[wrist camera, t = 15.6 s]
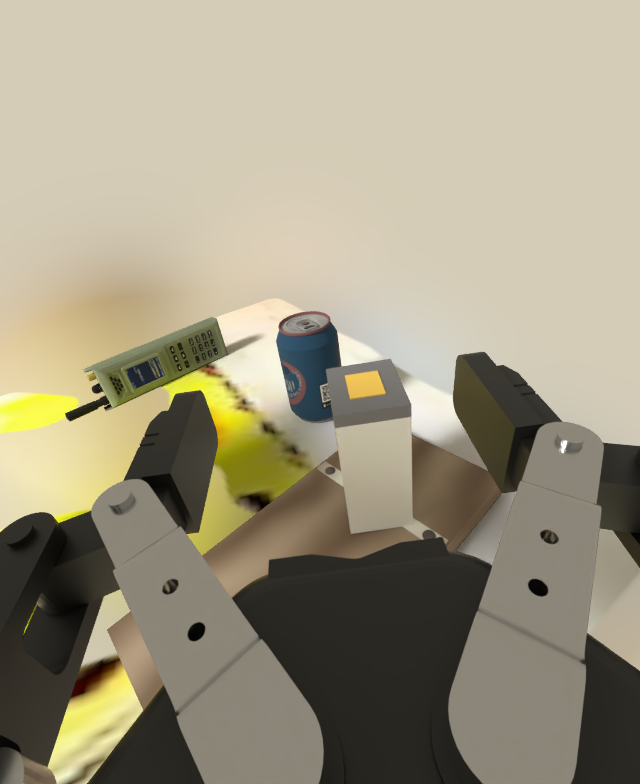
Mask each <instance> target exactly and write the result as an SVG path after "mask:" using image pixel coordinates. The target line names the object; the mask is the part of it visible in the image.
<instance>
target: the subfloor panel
mask: <svg viewBox="0 0 640 784" xmlns="http://www.w3.org/2000/svg"><path fill="white" fill-rule="evenodd" d="M500 495H501V492H500V490H499V488H498V486H497V485H496V483H495V481H494V479H493V478H492V476H491V474H490V472H489V471H487V470H485V469H482V468H480V467H478V466H476V465H474V464H472V463H470V462H468V461H466V460H464V459H462V458H459V457H457V456H455V455H453V454H451V453H449V452H447V451H445V450H443V449H441V448H439V447H436V446H434V445H432V444H430V443H428V442H426V441H424V440H422V439H420V438H418V437H415V436H413V435H412V509H413V525H410V526H403V527H396V528H389V529H382V530H375V531H368V532H361V533H354V534H351V531H350V525H349V518H348V512H347V505H346V499H345V492H344V486H343V479H342V473H341V466H340V460H339V453H338V451H337V452H335V453H334V454H333V455H332V456H330V457H329V458H328V459H326V460H325V461H324V462H322V463H321V464H320V465H319V466H317V467H316V468H315V469H313V470H312V471H311V472H310V473H308V474H307V475H306V476H304V477H303V478H302V479H301V480H299V481H298V482H297V483H295V484H294V485H293V486H292V487H290V488H289V489H288V490H286V491H285V492H284V493H283V494H281V495H280V496H279V497H277V498H276V499H275V500H274V501H272V502H271V503H270V504H268V505H267V506H266V507H265V508H263V509H262V510H261V511H259V512H258V513H257V514H256V515H254V516H253V517H252V518H250V519H249V520H248V521H246V522H245V523H244V524H243V525H241V526H240V527H239V528H237V529H236V530H235V531H234V532H232V533H231V534H230V535H228V536H227V537H226V538H225V539H223V540H222V541H221V542H219V543H218V544H217V545H216V546H214V547H213V548H212V549H210V550H209V551H208V552H207V553H206V554H204V555H203V556H202V557H203V558H204V560H205V561H206V563H207V564H208V566H209V567H210V568H211V570H212V571H213V573H214V574H215V575H216V577H217V578H218V580H219V581H220V583H221V584H222V585H223V587H224V588H225V590H226V591H227V592H228V594H229V595H230V597H231V598H232V597H233V596H234V595H235V594H236V593H238V592H239V591H240V590H241V589H242V588H244V587H245V586H247V585H248V584H250V583H251V582H253V581H254V580H256V579H258V578H260V577H262V576H264V575H267V574H268V568H269V560H271V559H278V558H286V557H293V556H301V555H308V554H315V555H324V556H333V557H342V558H351V559H357V558H361V557H364V556H367V555H369V554H372V553H374V552H377V551H379V550H382V549H384V548H387V547H389V546H392V545H395V544H397V543H400V542H407V541H415V540H422V539H430V538H438V537H443V539H444V542H445V545H446V548H447V550H448V551H456V549H457V548H458V547H459V546H460V545H461V543H462V542H463V541H464V540H465V538H466V537H467V536H468V535H469V533H470V532H471V531H472V530H473V528H474V527H475V526H476V525H477V524H478V522H479V521H480V520H481V519H482V517H483V516H484V515H485V514H486V512H487V511H488V510H489V509H490V508H491V506H492V505H493V504H494V503H495V501H496V500H497V499H498V498H499V496H500ZM107 631H108V633H109V635H110V637H111V640H112V642H113V644H114V646H115V648H116V651H117V653H118V655H119V657H120V659H121V662H122V664H123V666H124V668H125V671H126V673H127V675H128V677H129V679H130V682H131V684H132V686H133V688H134V690H135V693H136V695H137V697H138V699H139V701H140V704H141V706H142V708H143V710H144V709H145V708H146V707H147V705H148V704H149V703H150V701H151V700H152V699H153V698H154V696H155V695H156V694H157V692H158V691H159V690H160V689H161V687H162V686H163V685H164V684H163V682H162V679H161V677H160V675H159V673H158V671H157V668H156V666H155V664H154V662H153V660H152V657H151V655H150V653H149V651H148V649H147V646H146V644H145V642H144V640H143V638H142V635H141V633H140V631H139V629H138V627H137V624H136V622H135V620H134V618H133V616H132V613H131V612H129V613H128V614H127V615H125V616H124V617H123V618H122V619H120V620H119V621H118V622H116V623H115V624H114V625H113V626H111V627H110V628H109V629H108V630H107Z"/></svg>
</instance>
